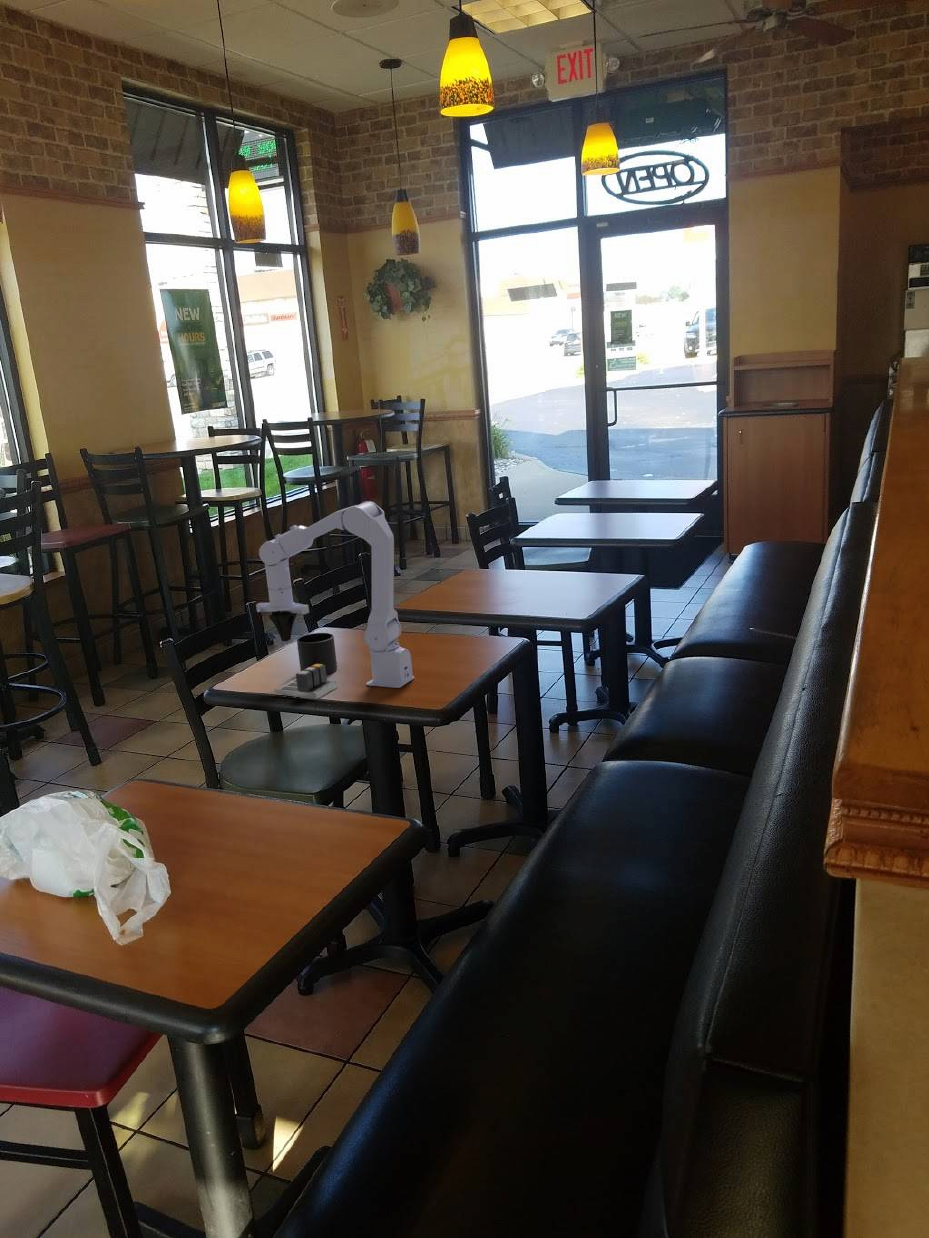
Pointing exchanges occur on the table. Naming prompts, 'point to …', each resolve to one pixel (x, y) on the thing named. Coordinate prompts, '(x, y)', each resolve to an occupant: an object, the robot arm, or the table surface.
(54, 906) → the table surface
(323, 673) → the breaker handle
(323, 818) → the table surface
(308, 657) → the mug
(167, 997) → the table surface
